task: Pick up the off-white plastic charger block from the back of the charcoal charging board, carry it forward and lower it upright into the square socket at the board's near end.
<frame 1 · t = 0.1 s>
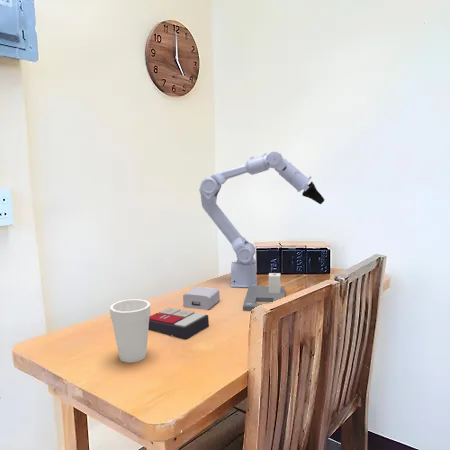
hand: (322, 201, 150), 32 cm above the table, tool tilted 50°, fingers open, 7 cm apart
black button box: (177, 329, 120), on the table
socket board: (265, 299, 142), on the table
foam cup: (133, 357, 102), on the table
charger 2: (205, 302, 141), on the table
charger: (274, 291, 146), point 1 cm above the table, touching socket board
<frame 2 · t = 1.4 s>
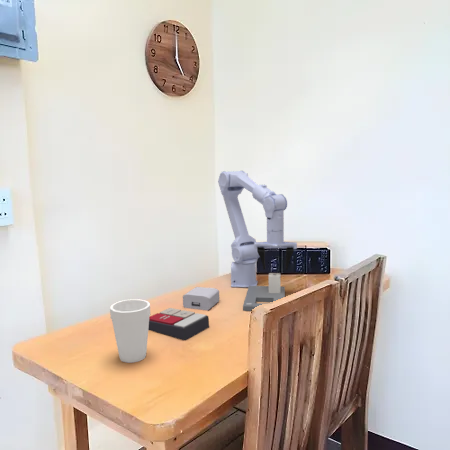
hand: (275, 268, 144), 10 cm above the table, tool pointing down, fingers open, 7 cm apart
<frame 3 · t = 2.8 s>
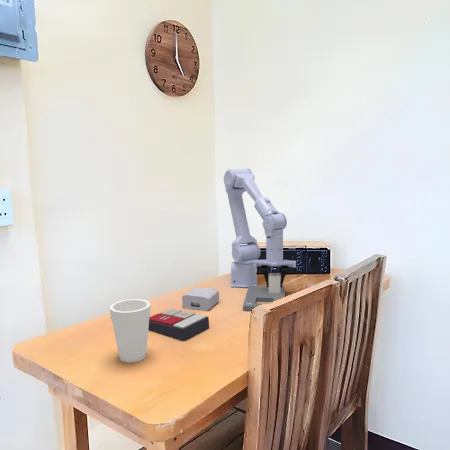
hand: (274, 286, 145), 3 cm above the table, tool pointing down, fingers closed on charger, 4 cm apart
charger: (274, 291, 146), point 1 cm above the table, touching gripper, socket board
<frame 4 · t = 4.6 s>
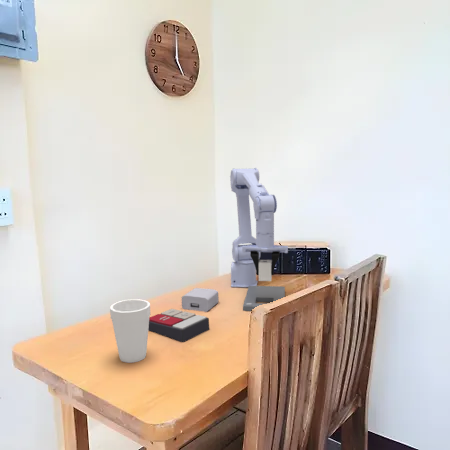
hand: (265, 274, 136), 10 cm above the table, tool pointing down, fingers closed on charger, 4 cm apart
charger: (265, 279, 136), point 8 cm above the table, touching gripper
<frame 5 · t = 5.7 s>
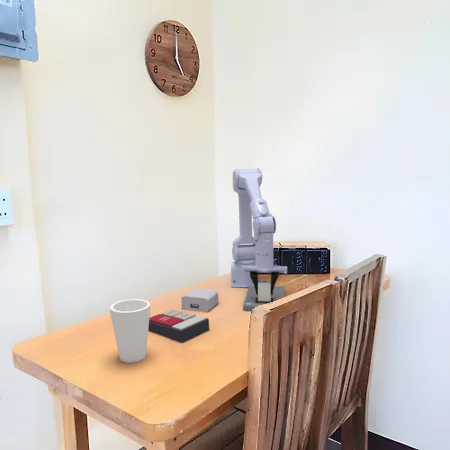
hand: (264, 294, 136), 4 cm above the table, tool pointing down, fingers closed on charger, 4 cm apart
charger: (264, 299, 136), point 2 cm above the table, touching gripper
when the fingers open (3 cm above the table, at t = 6.3 s): charger stays where it is, resting in socket board.
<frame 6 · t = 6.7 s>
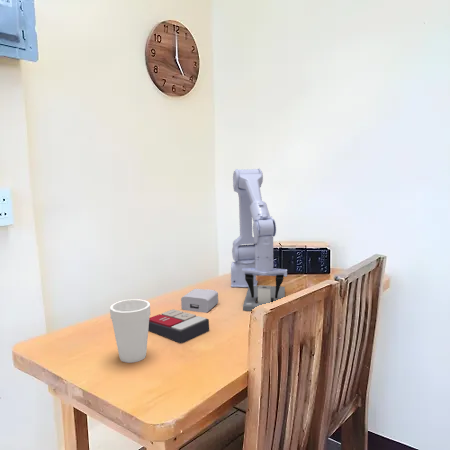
hand: (264, 296, 136), 3 cm above the table, tool pointing down, fingers open, 7 cm apart
charger: (264, 304, 137), resting in socket board
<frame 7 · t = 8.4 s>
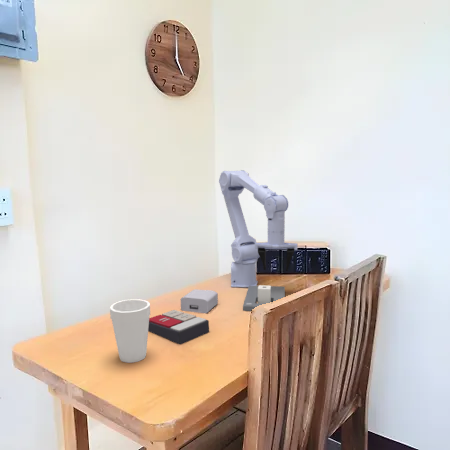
hand: (275, 269, 144), 9 cm above the table, tool pointing down, fingers open, 7 cm apart
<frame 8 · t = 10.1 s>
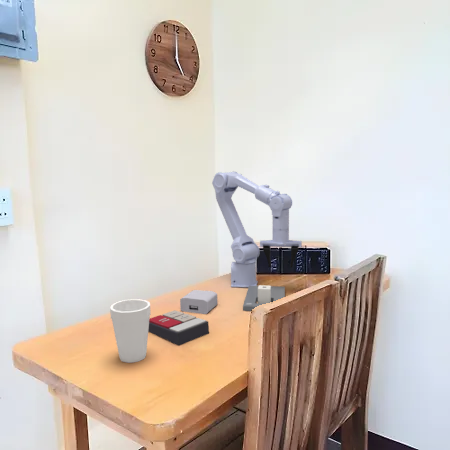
hand: (280, 266, 148), 9 cm above the table, tool pointing down, fingers open, 7 cm apart
at the end: charger 0.1 cm from the target spot on the socket board, point 0.0 cm above the socket board's base; charger tilted 0°; the gripper is holding nothing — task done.
